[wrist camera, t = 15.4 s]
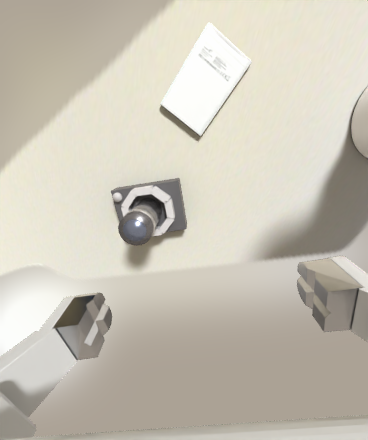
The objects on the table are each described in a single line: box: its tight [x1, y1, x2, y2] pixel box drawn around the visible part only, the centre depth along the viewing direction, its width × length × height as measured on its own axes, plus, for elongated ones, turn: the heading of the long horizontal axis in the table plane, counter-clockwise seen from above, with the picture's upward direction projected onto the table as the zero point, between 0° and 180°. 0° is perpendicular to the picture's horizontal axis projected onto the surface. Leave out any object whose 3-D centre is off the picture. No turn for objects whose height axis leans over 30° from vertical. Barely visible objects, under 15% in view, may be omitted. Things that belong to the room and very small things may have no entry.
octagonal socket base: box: [111, 178, 187, 236], centre depth 36 cm, size 12×9×4 cm
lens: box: [118, 198, 162, 245], centre depth 31 cm, size 5×5×9 cm
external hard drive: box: [160, 22, 252, 136], centre depth 31 cm, size 2×8×12 cm
